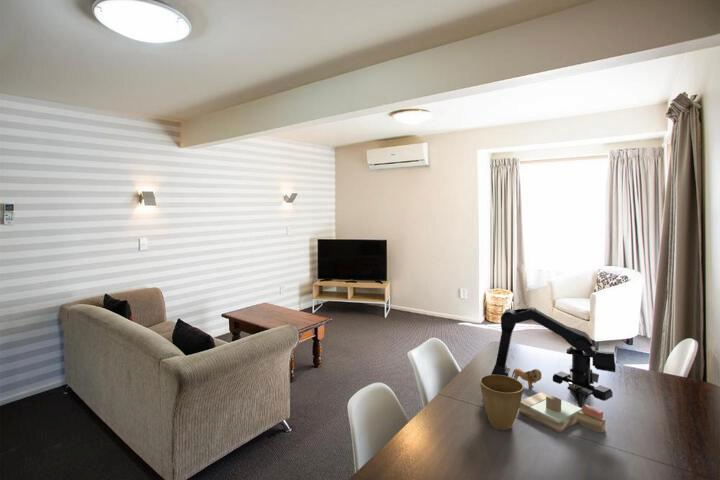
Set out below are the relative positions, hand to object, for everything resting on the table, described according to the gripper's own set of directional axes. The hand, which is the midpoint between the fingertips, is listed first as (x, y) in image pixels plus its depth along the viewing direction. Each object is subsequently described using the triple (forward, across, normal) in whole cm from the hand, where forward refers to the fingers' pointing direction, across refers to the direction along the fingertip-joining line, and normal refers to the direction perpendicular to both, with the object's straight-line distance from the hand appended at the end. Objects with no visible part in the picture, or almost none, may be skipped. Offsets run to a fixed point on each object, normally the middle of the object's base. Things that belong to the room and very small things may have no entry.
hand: (581, 407), depth 132 cm
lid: (+2, +6, +6) cm, 9 cm away
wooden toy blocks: (+5, +4, +6) cm, 9 cm away
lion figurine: (+6, +29, -9) cm, 31 cm away
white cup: (+6, +13, -24) cm, 28 cm away
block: (+1, -4, 0) cm, 4 cm away
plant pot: (+6, +14, +26) cm, 31 cm away
